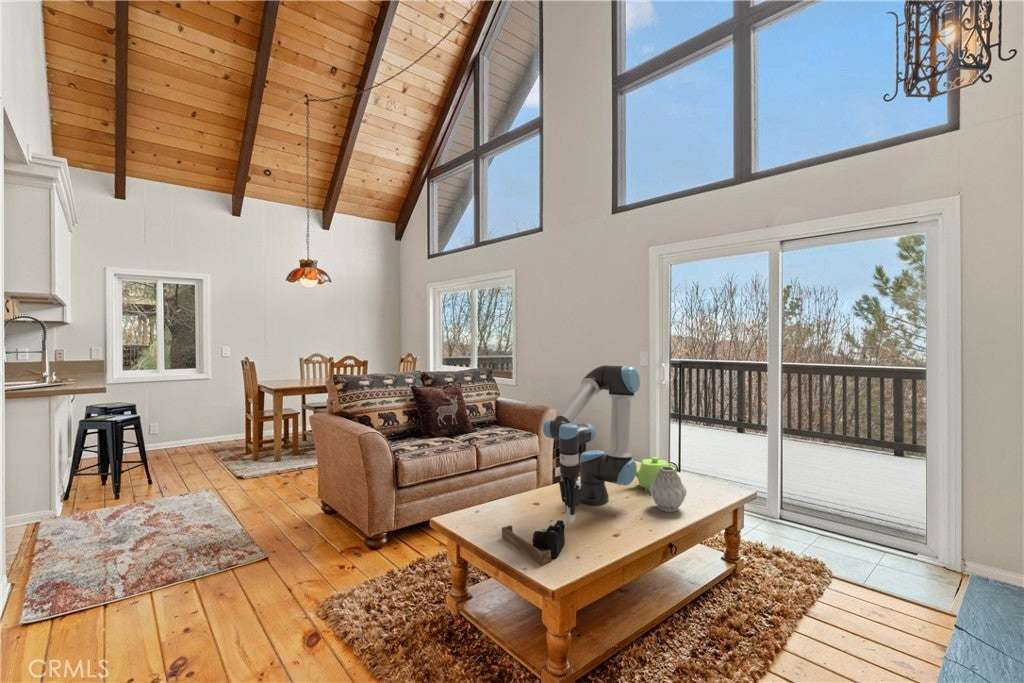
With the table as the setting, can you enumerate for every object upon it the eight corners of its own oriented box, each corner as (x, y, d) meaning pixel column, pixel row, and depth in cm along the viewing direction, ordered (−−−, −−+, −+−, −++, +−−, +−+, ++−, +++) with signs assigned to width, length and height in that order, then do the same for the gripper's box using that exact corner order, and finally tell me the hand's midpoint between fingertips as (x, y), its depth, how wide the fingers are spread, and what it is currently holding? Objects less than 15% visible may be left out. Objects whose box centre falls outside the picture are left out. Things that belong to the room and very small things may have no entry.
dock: (511, 535, 187) (510, 525, 187) (550, 561, 165) (550, 550, 165) (502, 537, 185) (501, 527, 185) (541, 565, 163) (541, 553, 163)
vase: (645, 502, 221) (645, 463, 221) (680, 502, 221) (680, 463, 220) (654, 516, 205) (654, 474, 204) (692, 516, 204) (692, 473, 204)
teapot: (674, 481, 251) (674, 451, 251) (679, 495, 230) (679, 463, 230) (626, 478, 257) (626, 449, 256) (626, 491, 236) (626, 460, 235)
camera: (541, 539, 184) (541, 514, 183) (567, 543, 180) (567, 517, 179) (529, 555, 171) (529, 528, 170) (557, 560, 167) (557, 532, 166)
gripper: (551, 461, 190) (553, 518, 191) (572, 469, 179) (574, 530, 180) (566, 457, 194) (567, 514, 195) (587, 465, 183) (588, 525, 184)
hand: (570, 521), depth 187 cm, fingers closed
